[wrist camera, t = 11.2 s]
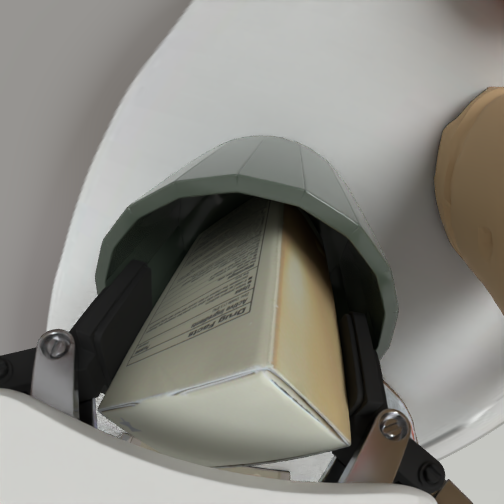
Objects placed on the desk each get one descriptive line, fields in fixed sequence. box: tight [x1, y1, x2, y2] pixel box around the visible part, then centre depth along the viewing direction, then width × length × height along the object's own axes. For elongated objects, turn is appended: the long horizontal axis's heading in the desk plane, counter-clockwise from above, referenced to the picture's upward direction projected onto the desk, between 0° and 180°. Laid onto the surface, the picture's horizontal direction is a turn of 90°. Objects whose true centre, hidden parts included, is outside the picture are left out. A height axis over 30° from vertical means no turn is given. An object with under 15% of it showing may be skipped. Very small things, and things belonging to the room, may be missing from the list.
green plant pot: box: [95, 136, 398, 361], centre depth 14 cm, size 11×11×9 cm
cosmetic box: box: [98, 196, 351, 469], centre depth 12 cm, size 6×4×12 cm
